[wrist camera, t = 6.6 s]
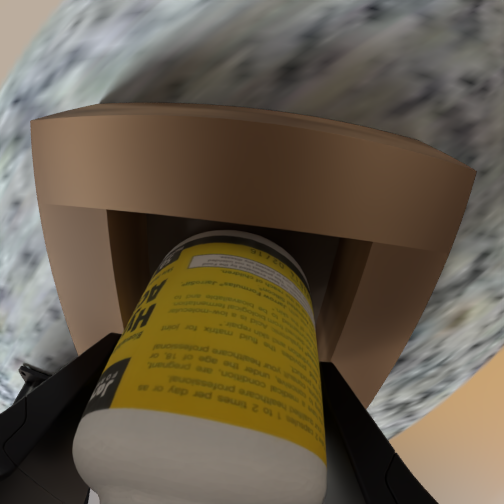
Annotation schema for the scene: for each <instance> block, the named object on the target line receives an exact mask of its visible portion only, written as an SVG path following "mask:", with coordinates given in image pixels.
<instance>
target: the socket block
mask: <svg viewBox="0 0 504 504" xmlns="http://www.w3.org/2000/svg"><path fill="white" fill-rule="evenodd" d="M30 123H31V143H32V157H33V167H34V177H35V185H36V193H37V200H38V206H39V212H40V218H41V224H42V229H43V234H44V239H45V244H46V249H47V253H48V258H49V262H50V266H51V270H52V274H53V278H54V282H55V285H56V289H57V293H58V296H59V300H60V303H61V306H62V310H63V313H64V316H65V319H66V322H67V325H68V328H69V331H70V334H71V337H72V340H73V342H74V345H75V348H76V351H77V353H78V356H79V355H80V354H82V353H83V352H85V351H86V350H87V349H89V348H90V347H91V346H93V345H94V344H95V343H97V342H98V341H99V340H101V339H102V338H104V337H105V336H106V335H108V334H109V333H111V332H115V333H119V334H122V333H123V331H124V329H125V327H126V326H127V324H128V322H129V320H130V318H131V316H132V314H133V312H134V310H135V308H136V306H137V304H138V303H139V301H140V299H141V297H142V295H143V294H144V292H145V290H146V288H147V286H148V284H149V282H150V280H151V278H152V276H153V274H154V273H155V271H156V270H157V268H158V267H159V265H160V264H161V262H162V261H163V259H164V258H165V257H166V255H167V254H168V253H169V252H170V251H171V250H172V249H173V248H174V247H175V246H177V245H178V244H179V243H181V242H183V241H184V240H186V239H187V238H190V237H192V236H194V235H197V234H200V233H204V232H208V231H216V230H236V231H242V232H248V233H252V234H255V235H259V236H261V237H264V238H266V239H268V240H270V241H272V242H274V243H275V244H277V245H278V246H280V247H281V248H283V249H284V250H285V251H286V252H288V253H289V254H290V255H291V256H292V257H293V258H294V259H295V261H296V262H297V263H298V265H299V266H300V267H301V269H302V271H303V273H304V274H305V277H306V279H307V282H308V285H309V289H310V295H311V300H312V307H313V313H314V321H315V331H316V340H317V350H318V358H319V362H320V361H324V362H332V363H333V364H334V365H335V366H336V368H337V369H338V371H339V372H340V373H341V375H342V376H343V378H344V379H345V380H346V382H347V383H348V385H349V386H350V388H351V389H352V390H353V392H354V393H355V395H356V396H357V397H358V399H359V400H360V402H361V403H362V404H363V406H364V407H365V409H367V408H368V406H369V405H370V403H371V402H372V400H373V399H374V397H375V395H376V394H377V392H378V391H379V389H380V388H381V386H382V385H383V383H384V381H385V380H386V378H387V377H388V375H389V373H390V372H391V370H392V368H393V367H394V365H395V363H396V361H397V360H398V358H399V356H400V355H401V353H402V351H403V349H404V347H405V346H406V344H407V342H408V340H409V338H410V336H411V335H412V333H413V331H414V329H415V327H416V325H417V323H418V321H419V319H420V317H421V315H422V313H423V311H424V309H425V307H426V305H427V303H428V301H429V299H430V297H431V295H432V292H433V290H434V288H435V286H436V284H437V281H438V279H439V277H440V275H441V272H442V270H443V267H444V265H445V263H446V260H447V258H448V255H449V253H450V250H451V248H452V245H453V243H454V240H455V237H456V235H457V232H458V229H459V226H460V224H461V221H462V218H463V215H464V212H465V209H466V206H467V203H468V200H469V196H470V193H471V190H472V186H473V183H474V180H475V176H476V172H477V171H476V170H474V169H472V168H471V167H469V166H467V165H465V164H463V163H462V162H460V161H458V160H456V159H454V158H452V157H451V156H449V155H447V154H445V153H443V152H441V151H439V150H437V149H435V148H433V147H431V146H429V145H427V144H425V143H423V142H421V141H419V140H415V139H412V138H408V137H404V136H401V135H397V134H393V133H389V132H385V131H381V130H377V129H373V128H368V127H364V126H359V125H355V124H350V123H345V122H340V121H335V120H330V119H324V118H319V117H313V116H307V115H300V114H294V113H287V112H280V111H272V110H264V109H255V108H246V107H235V106H223V105H209V104H190V103H107V104H95V105H90V106H86V107H81V108H77V109H72V110H68V111H64V112H60V113H56V114H53V115H49V116H45V117H42V118H38V119H35V120H31V121H30Z"/></svg>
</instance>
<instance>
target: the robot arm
mask: <svg viewBox="0 0 504 504" xmlns="http://www.w3.org/2000/svg"><path fill="white" fill-rule="evenodd" d="M121 335H122V334H119V333H115V332H111V333H109V334H108V335H106V336H105V337H104V338H102V339H101V340H99V341H98V342H97V343H95V344H94V345H93V346H91V347H90V348H89V349H87V350H86V351H85V352H83V353H82V354H80V355H79V356H78V357H76V358H75V359H74V360H72V361H71V362H70V363H68V364H67V365H66V366H64V367H63V368H62V369H60V370H59V371H58V372H56V373H55V374H54V375H52V376H51V377H50V376H47V375H44V374H42V373H39V372H36V371H34V370H31V369H29V368H26V367H24V366H21V367H20V369H19V372H20V374H21V376H22V378H23V379H24V381H25V384H24V386H23V387H22V389H21V391H20V392H19V394H18V396H17V398H16V399H15V401H14V403H13V405H12V406H11V407H9V408H8V409H7V410H5V411H4V412H2V413H1V414H0V504H88V500H89V493H90V487H89V486H88V485H87V484H86V483H85V482H84V480H83V479H82V478H81V476H80V475H79V473H78V471H77V469H76V466H75V463H74V459H73V453H72V448H73V440H74V437H75V434H76V431H77V428H78V425H79V422H80V420H81V418H82V415H83V413H84V411H85V408H86V406H87V404H88V402H89V400H90V398H91V396H92V394H93V392H94V390H95V388H96V385H97V383H98V381H99V379H100V377H101V375H102V373H103V371H104V369H105V367H106V365H107V363H108V361H109V358H110V356H111V355H112V353H113V351H114V349H115V347H116V345H117V343H118V341H119V339H120V337H121ZM319 369H320V380H321V391H322V403H323V415H324V428H325V442H326V460H327V489H326V495H325V498H324V501H323V503H322V504H438V502H436V500H435V499H434V498H433V497H432V496H431V495H430V494H429V493H428V492H427V490H426V489H424V487H423V486H422V485H421V484H420V483H419V481H418V480H417V479H416V478H415V477H414V476H413V474H412V473H411V472H410V470H409V469H408V468H407V466H406V465H405V464H404V462H403V461H402V460H401V458H400V457H399V455H398V454H397V453H395V450H394V449H393V447H392V446H391V444H390V443H389V441H388V440H387V438H386V437H385V436H384V434H383V433H382V431H381V430H380V429H379V427H378V426H377V424H376V423H375V421H374V420H373V419H372V417H371V416H370V414H369V413H368V412H367V410H366V409H365V407H364V406H363V404H362V403H361V402H360V400H359V399H358V397H357V396H356V395H355V393H354V392H353V390H352V389H351V388H350V386H349V385H348V383H347V382H346V380H345V379H344V378H343V376H342V375H341V373H340V372H339V371H338V369H337V368H336V366H335V365H334V364H333V363H332V362H324V361H320V362H319Z"/></svg>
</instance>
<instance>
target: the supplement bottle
mask: <svg viewBox="0 0 504 504" xmlns="http://www.w3.org/2000/svg"><path fill="white" fill-rule="evenodd" d="M72 453H73V459H74V463H75V466H76V469H77V471H78V473H79V475H80V476H81V478H82V479H83V480H84V482H85V483H86V484H87V485H88V486H89V487H90V488H91V489H92V490H93V491H94V492H96V493H97V494H98V496H99V499H100V504H322V503H323V501H324V498H325V495H326V489H327V460H326V442H325V428H324V415H323V403H322V391H321V380H320V369H319V358H318V350H317V340H316V331H315V321H314V313H313V307H312V300H311V295H310V289H309V285H308V282H307V279H306V277H305V274H304V273H303V271H302V269H301V267H300V266H299V265H298V263H297V262H296V261H295V259H294V258H293V257H292V256H291V255H290V254H289V253H288V252H286V251H285V250H284V249H283V248H281V247H280V246H278V245H277V244H275V243H274V242H272V241H270V240H268V239H266V238H264V237H261V236H259V235H255V234H252V233H248V232H242V231H236V230H216V231H208V232H204V233H200V234H197V235H194V236H192V237H190V238H187V239H186V240H184V241H183V242H181V243H179V244H178V245H177V246H175V247H174V248H173V249H172V250H171V251H170V252H169V253H168V254H167V255H166V257H165V258H164V259H163V261H162V262H161V264H160V265H159V267H158V268H157V270H156V271H155V273H154V274H153V276H152V278H151V280H150V282H149V284H148V286H147V288H146V290H145V292H144V294H143V295H142V297H141V299H140V301H139V303H138V304H137V306H136V308H135V310H134V312H133V314H132V316H131V318H130V320H129V322H128V324H127V326H126V327H125V329H124V331H123V333H122V335H121V337H120V339H119V341H118V343H117V345H116V347H115V349H114V351H113V353H112V355H111V356H110V358H109V361H108V363H107V365H106V367H105V369H104V371H103V373H102V375H101V377H100V379H99V381H98V383H97V385H96V388H95V390H94V392H93V394H92V396H91V398H90V400H89V402H88V404H87V406H86V408H85V411H84V413H83V415H82V418H81V420H80V422H79V425H78V428H77V431H76V434H75V437H74V440H73V448H72Z"/></svg>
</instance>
